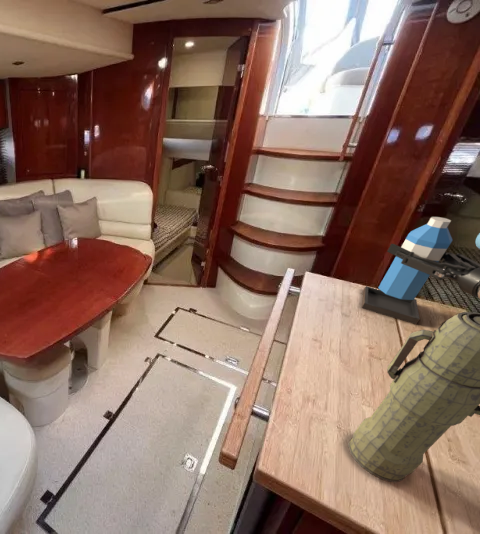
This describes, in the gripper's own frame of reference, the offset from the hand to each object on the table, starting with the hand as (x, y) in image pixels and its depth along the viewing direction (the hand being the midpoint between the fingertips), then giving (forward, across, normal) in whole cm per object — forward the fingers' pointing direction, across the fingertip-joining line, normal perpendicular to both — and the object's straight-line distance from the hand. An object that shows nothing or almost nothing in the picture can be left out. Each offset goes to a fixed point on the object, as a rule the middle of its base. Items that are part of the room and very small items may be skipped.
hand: (405, 247), depth 95 cm
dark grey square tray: (-4, 0, -20) cm, 21 cm away
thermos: (-51, -46, -20) cm, 72 cm away
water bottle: (-4, 0, -14) cm, 15 cm away
